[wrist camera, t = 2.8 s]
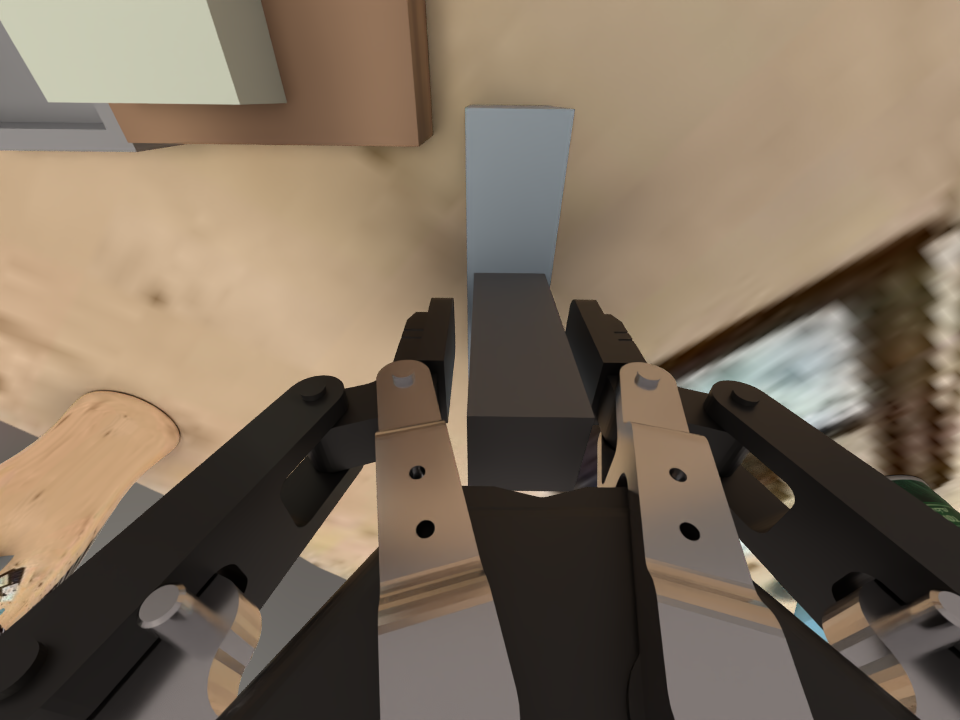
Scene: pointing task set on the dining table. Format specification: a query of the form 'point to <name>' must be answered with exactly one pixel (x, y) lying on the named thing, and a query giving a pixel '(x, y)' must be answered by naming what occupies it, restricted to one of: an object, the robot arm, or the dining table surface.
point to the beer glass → (71, 491)
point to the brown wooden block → (317, 83)
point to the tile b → (146, 50)
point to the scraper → (519, 304)
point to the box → (52, 115)
